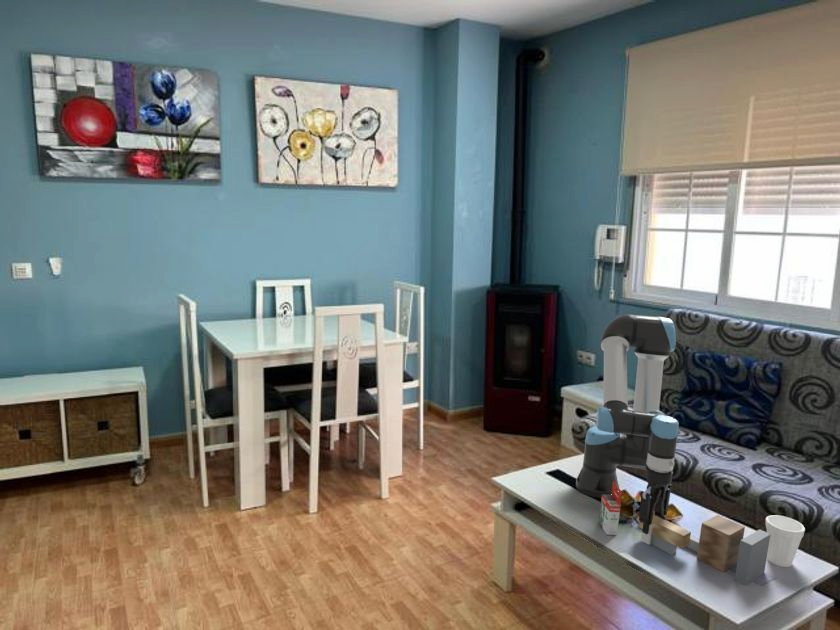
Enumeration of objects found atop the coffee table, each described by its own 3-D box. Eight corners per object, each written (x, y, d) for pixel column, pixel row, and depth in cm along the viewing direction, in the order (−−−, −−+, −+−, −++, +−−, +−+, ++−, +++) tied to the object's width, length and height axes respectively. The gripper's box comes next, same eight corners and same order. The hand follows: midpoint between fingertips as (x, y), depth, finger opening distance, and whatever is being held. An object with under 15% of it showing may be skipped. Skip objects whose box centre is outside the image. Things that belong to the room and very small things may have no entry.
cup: (752, 553, 184) (759, 513, 182) (786, 556, 184) (792, 516, 182) (770, 573, 175) (777, 531, 172) (805, 575, 174) (813, 533, 172)
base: (660, 545, 186) (665, 506, 184) (679, 535, 193) (684, 497, 190) (746, 590, 166) (753, 546, 163) (765, 577, 172) (772, 534, 170)
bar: (638, 527, 186) (640, 515, 186) (646, 523, 189) (647, 511, 188) (681, 548, 175) (683, 535, 175) (689, 544, 178) (690, 532, 177)
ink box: (606, 535, 190) (611, 491, 188) (597, 522, 198) (602, 480, 196) (617, 535, 191) (622, 491, 188) (608, 522, 198) (613, 480, 196)
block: (696, 558, 178) (701, 522, 176) (712, 549, 183) (717, 514, 181) (723, 572, 172) (729, 535, 170) (739, 562, 177) (744, 526, 175)
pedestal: (647, 545, 185) (649, 530, 185) (651, 544, 187) (653, 528, 186) (671, 558, 179) (674, 542, 178) (675, 556, 180) (677, 541, 180)
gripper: (654, 478, 174) (644, 554, 178) (686, 466, 184) (676, 538, 188) (631, 469, 180) (622, 542, 184) (663, 457, 190) (654, 527, 194)
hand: (650, 540), depth 186 cm, fingers closed on bar, 4 cm apart
